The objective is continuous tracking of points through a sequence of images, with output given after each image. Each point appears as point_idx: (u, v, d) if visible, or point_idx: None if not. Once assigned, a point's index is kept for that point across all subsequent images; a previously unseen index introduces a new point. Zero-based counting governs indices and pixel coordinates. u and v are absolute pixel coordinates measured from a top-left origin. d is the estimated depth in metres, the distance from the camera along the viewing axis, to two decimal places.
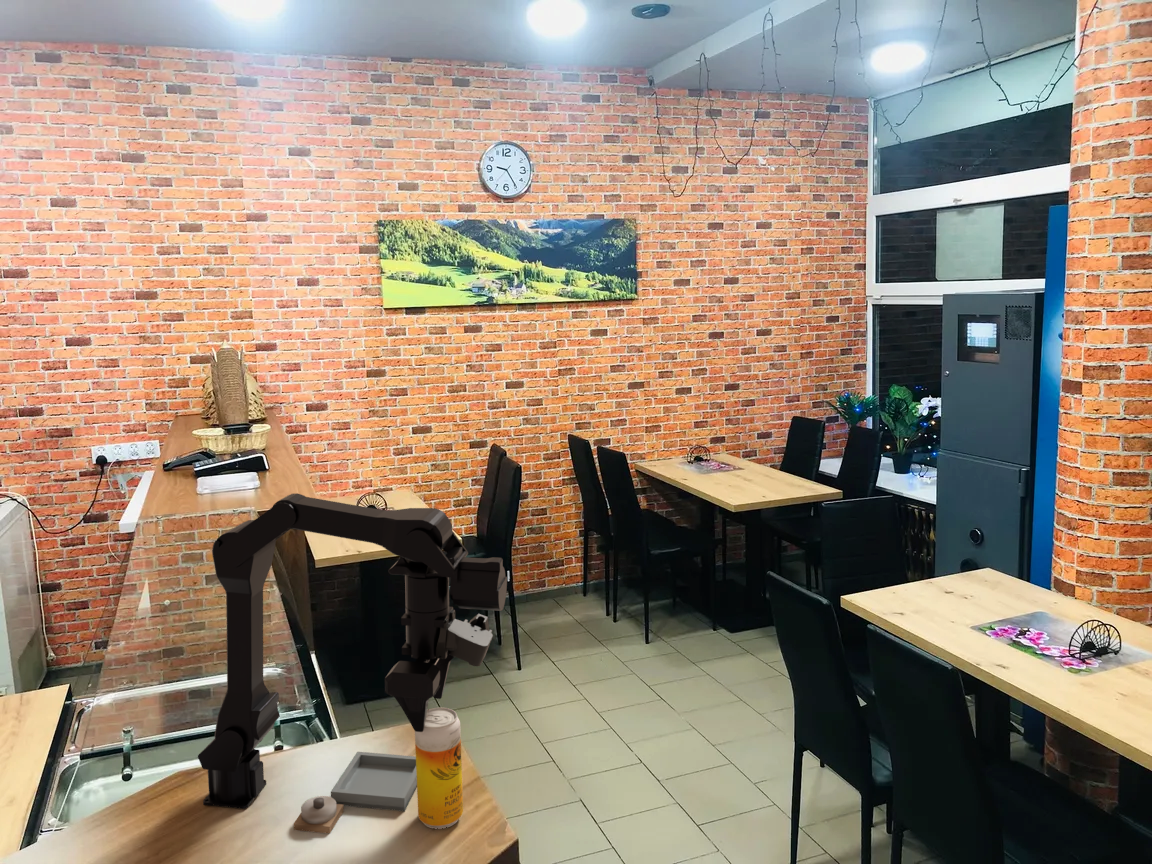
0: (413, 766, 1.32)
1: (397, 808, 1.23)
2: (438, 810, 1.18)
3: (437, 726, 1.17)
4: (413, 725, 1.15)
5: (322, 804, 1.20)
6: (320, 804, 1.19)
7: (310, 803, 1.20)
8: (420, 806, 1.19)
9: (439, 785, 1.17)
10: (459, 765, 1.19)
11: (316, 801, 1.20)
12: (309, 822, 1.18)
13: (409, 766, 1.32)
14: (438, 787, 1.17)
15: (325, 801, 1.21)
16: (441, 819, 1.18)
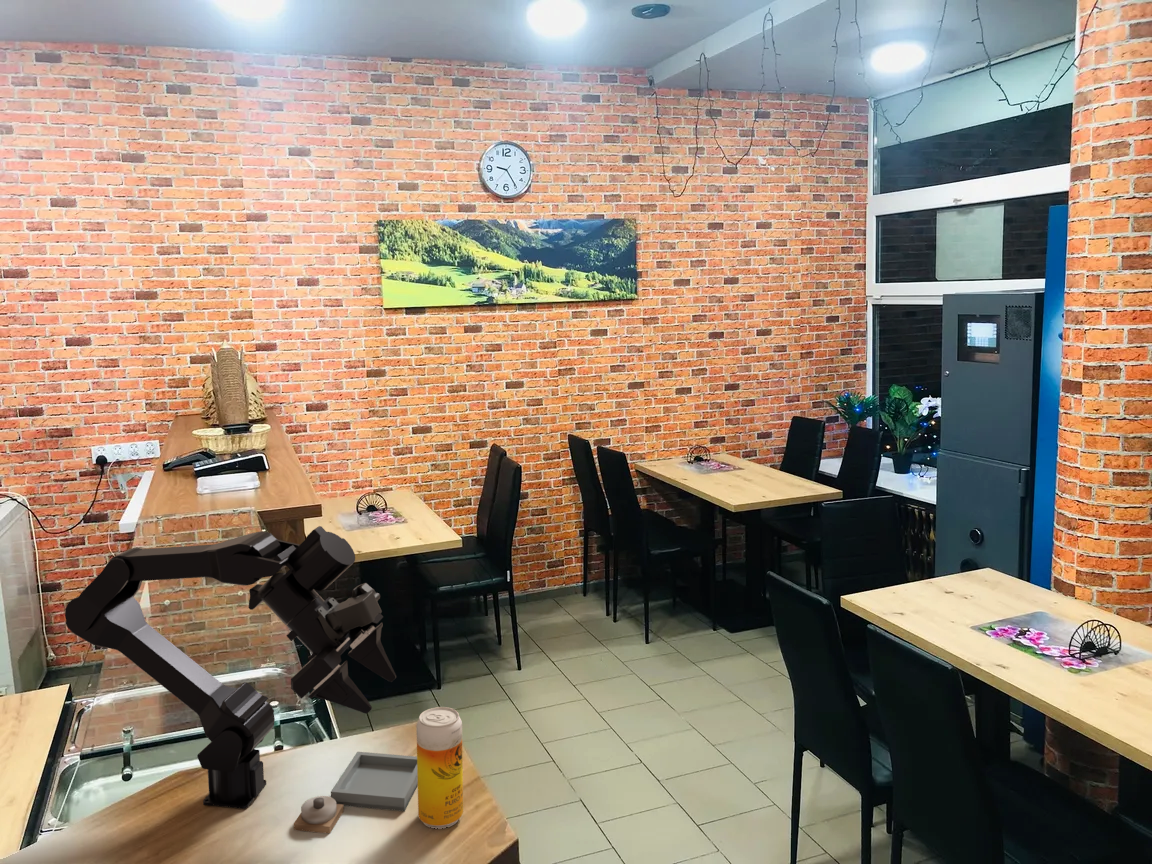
0: (413, 766, 1.32)
1: (397, 808, 1.23)
2: (438, 810, 1.18)
3: (439, 725, 1.17)
4: (359, 709, 1.15)
5: (322, 804, 1.20)
6: (320, 804, 1.19)
7: (310, 803, 1.20)
8: (420, 805, 1.19)
9: (440, 784, 1.17)
10: (460, 765, 1.19)
11: (316, 801, 1.20)
12: (309, 822, 1.18)
13: (409, 766, 1.32)
14: (439, 786, 1.17)
15: (325, 801, 1.21)
16: (441, 818, 1.18)
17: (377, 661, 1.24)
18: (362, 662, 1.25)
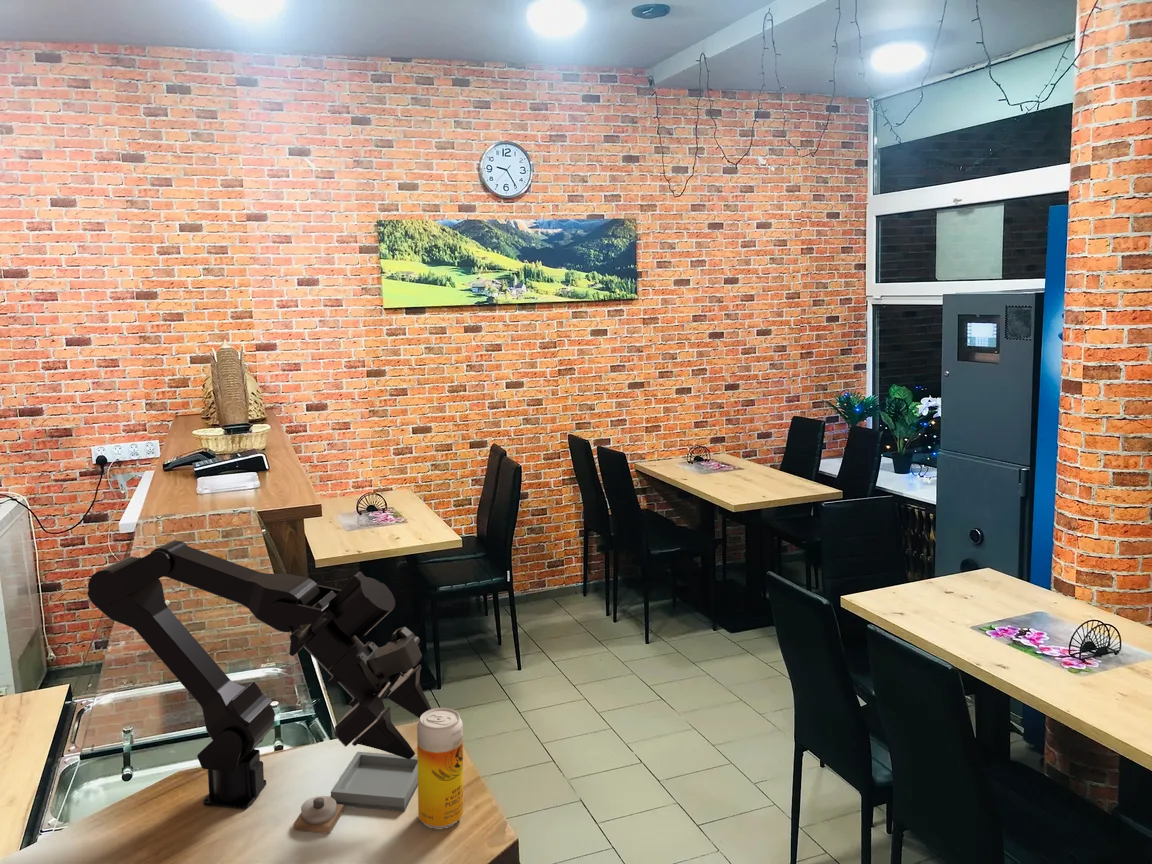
0: (413, 766, 1.32)
1: (397, 808, 1.23)
2: (438, 811, 1.18)
3: (439, 727, 1.17)
4: (402, 755, 1.15)
5: (322, 804, 1.20)
6: (320, 804, 1.19)
7: (310, 803, 1.20)
8: (420, 806, 1.19)
9: (440, 785, 1.17)
10: (460, 766, 1.19)
11: (316, 801, 1.20)
12: (309, 822, 1.18)
13: (409, 766, 1.32)
14: (439, 787, 1.17)
15: (325, 801, 1.21)
16: (441, 819, 1.18)
17: (416, 703, 1.24)
18: (402, 705, 1.25)
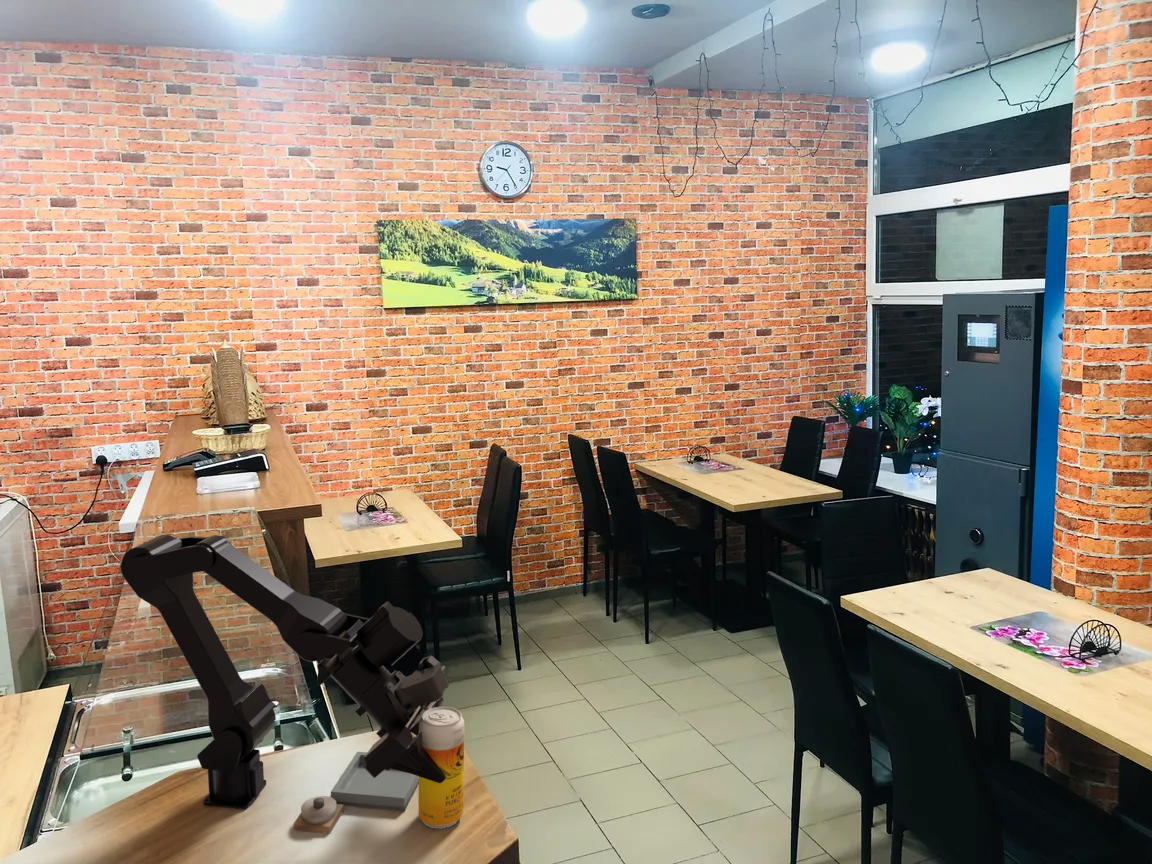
0: None
1: (397, 808, 1.23)
2: (438, 809, 1.18)
3: (441, 724, 1.17)
4: (433, 779, 1.17)
5: (322, 804, 1.20)
6: (320, 804, 1.19)
7: (310, 803, 1.20)
8: (421, 804, 1.19)
9: (440, 784, 1.17)
10: (461, 765, 1.19)
11: (316, 801, 1.20)
12: (309, 822, 1.18)
13: None
14: (440, 785, 1.17)
15: (325, 801, 1.21)
16: (441, 818, 1.18)
17: None
18: None
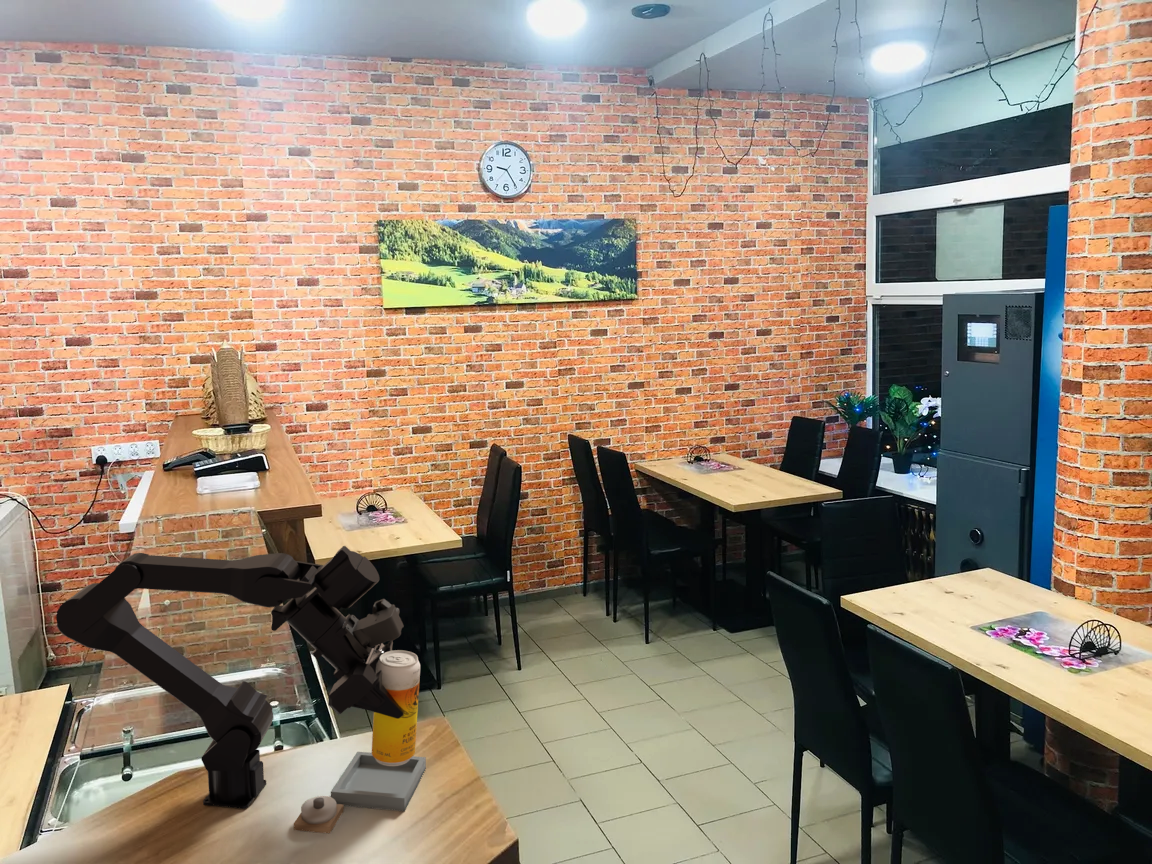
0: (413, 766, 1.32)
1: (397, 808, 1.23)
2: (396, 747, 1.23)
3: (401, 666, 1.22)
4: (392, 715, 1.21)
5: (322, 804, 1.20)
6: (320, 804, 1.19)
7: (310, 803, 1.20)
8: (376, 744, 1.23)
9: (399, 723, 1.22)
10: (417, 704, 1.24)
11: (316, 801, 1.20)
12: (309, 822, 1.18)
13: (409, 766, 1.32)
14: (398, 724, 1.22)
15: (325, 801, 1.21)
16: (398, 756, 1.23)
17: None
18: None
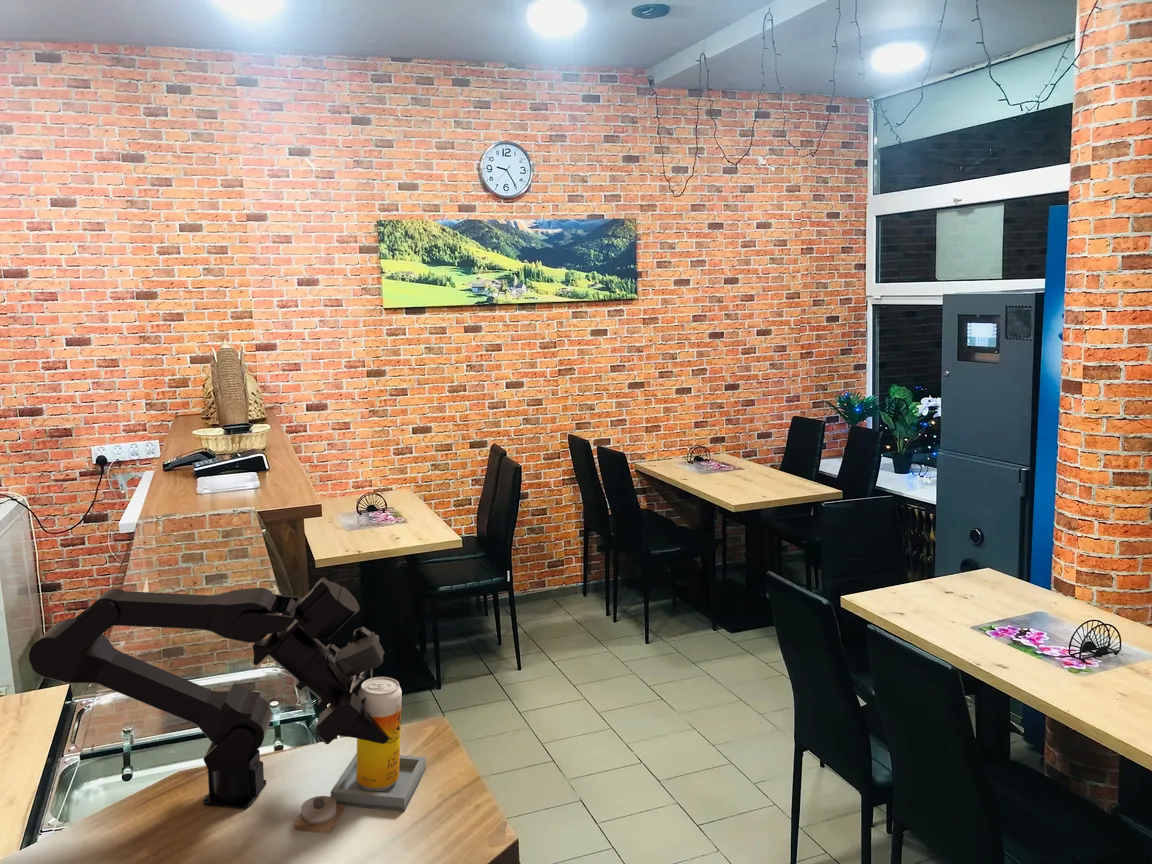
0: (413, 766, 1.32)
1: (397, 808, 1.23)
2: (381, 772, 1.25)
3: (384, 693, 1.24)
4: (377, 741, 1.23)
5: (322, 804, 1.20)
6: (320, 804, 1.19)
7: (310, 803, 1.20)
8: (361, 771, 1.25)
9: (383, 748, 1.25)
10: (400, 729, 1.27)
11: (316, 801, 1.20)
12: (309, 822, 1.18)
13: (409, 766, 1.32)
14: (383, 750, 1.25)
15: (325, 801, 1.21)
16: (383, 781, 1.26)
17: None
18: None
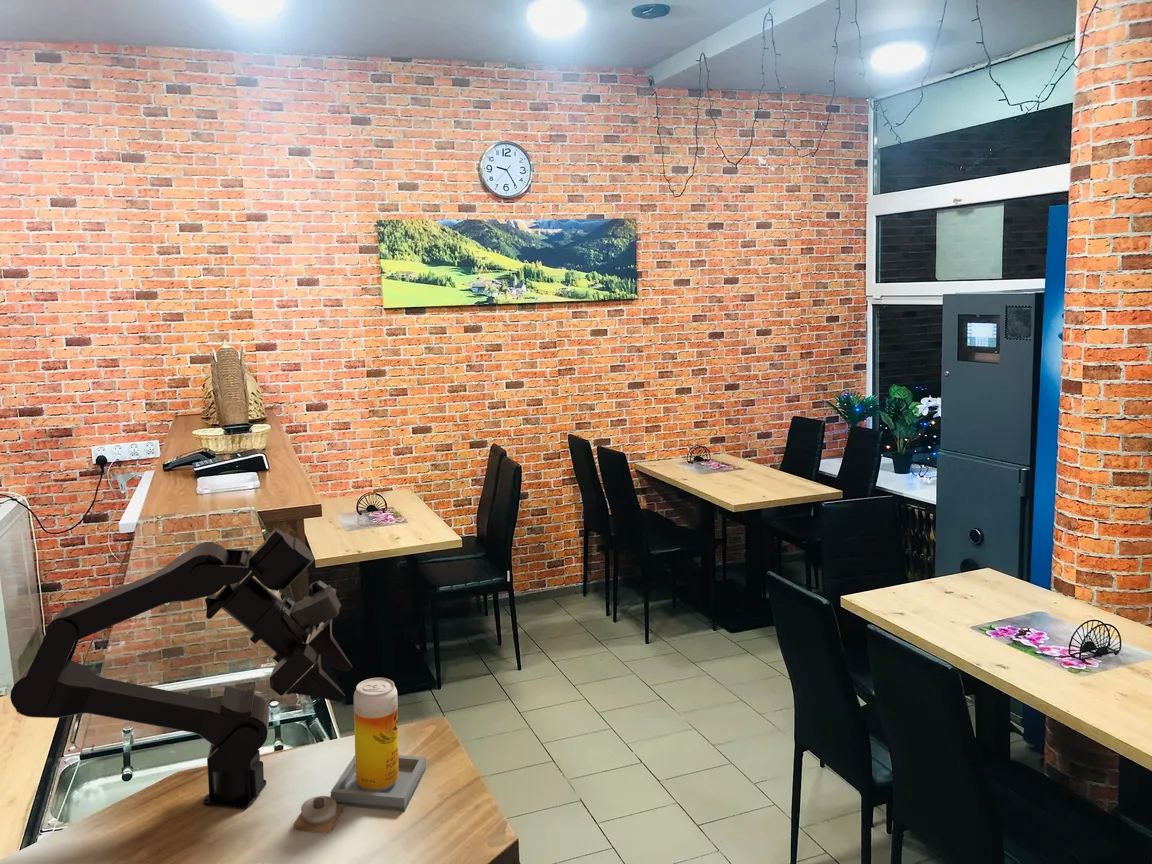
0: (413, 766, 1.32)
1: (397, 808, 1.23)
2: (380, 773, 1.25)
3: (379, 693, 1.24)
4: (333, 699, 1.20)
5: (322, 804, 1.20)
6: (320, 804, 1.19)
7: (310, 803, 1.20)
8: (360, 772, 1.25)
9: (381, 749, 1.25)
10: (397, 729, 1.27)
11: (316, 801, 1.20)
12: (309, 822, 1.18)
13: (409, 766, 1.32)
14: (381, 751, 1.25)
15: (325, 801, 1.21)
16: (383, 781, 1.26)
17: (332, 654, 1.29)
18: (316, 657, 1.29)
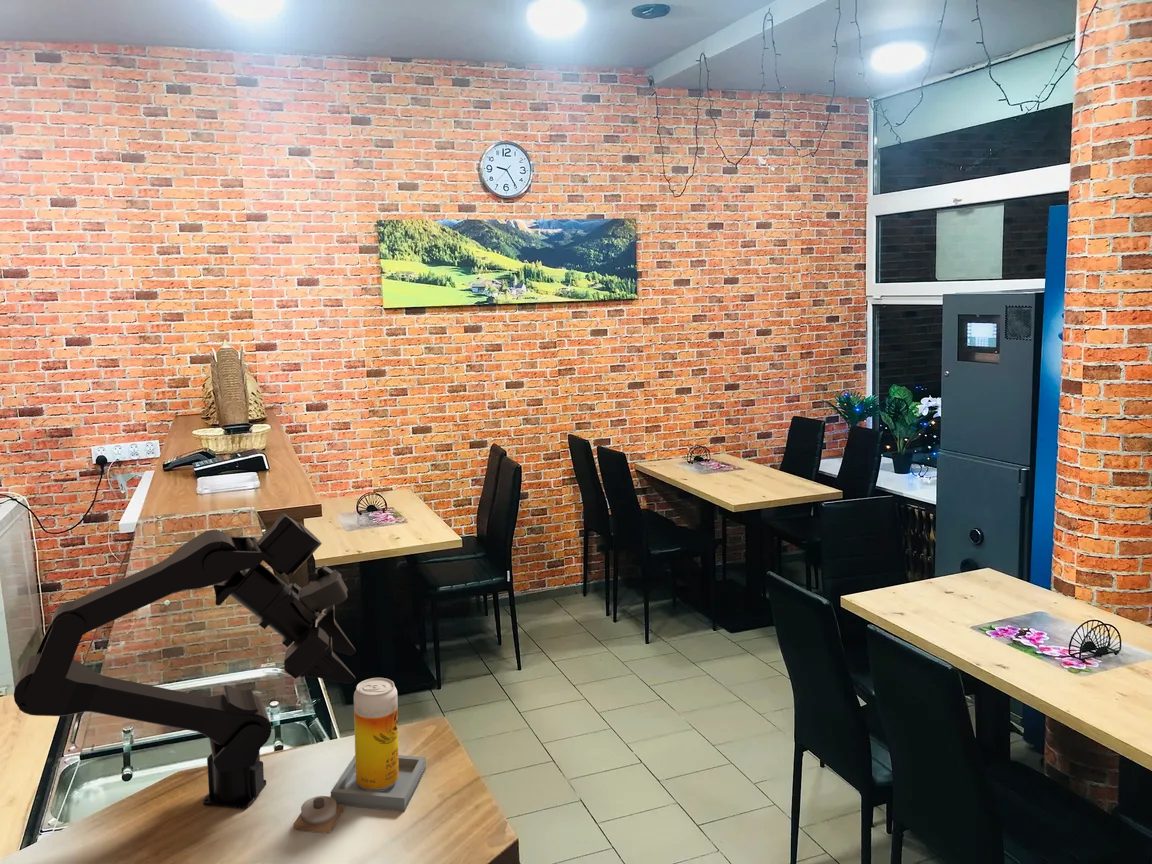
0: (413, 766, 1.32)
1: (397, 808, 1.23)
2: (380, 773, 1.25)
3: (379, 693, 1.24)
4: (344, 681, 1.22)
5: (322, 804, 1.20)
6: (320, 804, 1.19)
7: (310, 803, 1.20)
8: (360, 772, 1.25)
9: (381, 749, 1.25)
10: (397, 729, 1.27)
11: (316, 801, 1.20)
12: (309, 822, 1.18)
13: (409, 766, 1.32)
14: (380, 751, 1.25)
15: (325, 801, 1.21)
16: (383, 781, 1.26)
17: (336, 638, 1.31)
18: None
